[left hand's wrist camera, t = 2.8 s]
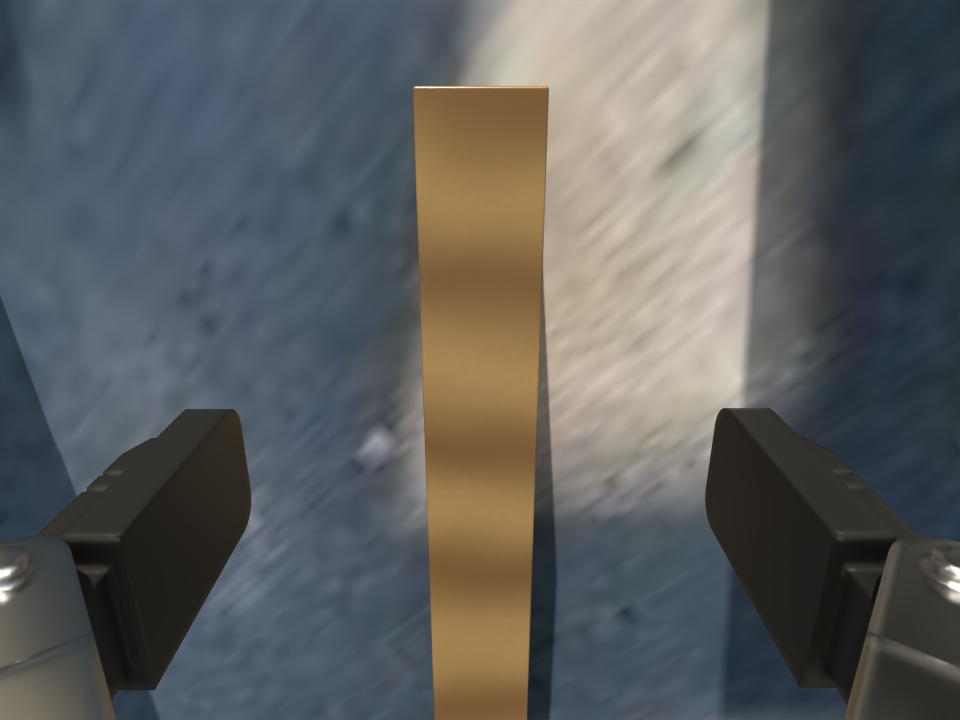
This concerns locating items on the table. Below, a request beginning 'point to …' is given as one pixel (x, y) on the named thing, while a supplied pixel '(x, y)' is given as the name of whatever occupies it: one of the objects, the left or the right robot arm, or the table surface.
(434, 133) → the beam
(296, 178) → the table surface
